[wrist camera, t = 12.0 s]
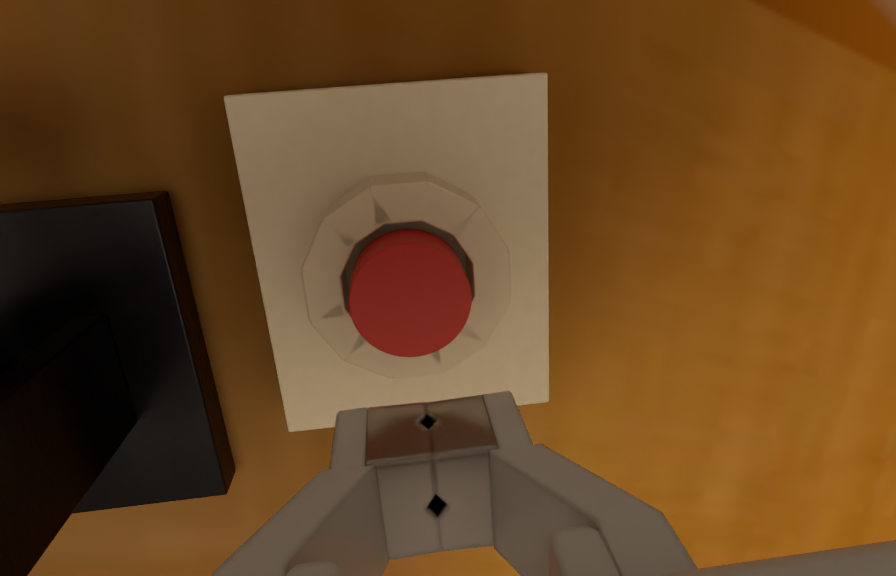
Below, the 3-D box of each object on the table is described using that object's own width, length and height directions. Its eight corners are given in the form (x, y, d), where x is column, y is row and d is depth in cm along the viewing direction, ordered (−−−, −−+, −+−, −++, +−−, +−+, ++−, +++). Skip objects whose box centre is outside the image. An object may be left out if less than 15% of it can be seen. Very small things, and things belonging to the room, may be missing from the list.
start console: (239, 94, 19) (204, 97, 15) (531, 72, 20) (565, 71, 16) (296, 402, 23) (280, 463, 20) (535, 374, 24) (563, 429, 20)
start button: (344, 233, 17) (340, 249, 16) (460, 223, 18) (468, 237, 16) (358, 339, 19) (356, 364, 17) (467, 327, 19) (475, 351, 17)
